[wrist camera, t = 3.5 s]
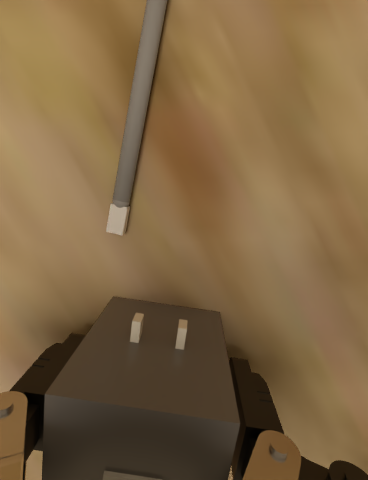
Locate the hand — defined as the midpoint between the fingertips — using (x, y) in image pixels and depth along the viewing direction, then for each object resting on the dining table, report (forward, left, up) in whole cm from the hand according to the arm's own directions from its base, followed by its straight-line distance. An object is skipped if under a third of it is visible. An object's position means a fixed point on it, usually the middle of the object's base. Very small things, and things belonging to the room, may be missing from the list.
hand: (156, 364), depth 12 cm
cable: (+2, -12, -1) cm, 12 cm away
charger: (0, 0, -1) cm, 1 cm away
